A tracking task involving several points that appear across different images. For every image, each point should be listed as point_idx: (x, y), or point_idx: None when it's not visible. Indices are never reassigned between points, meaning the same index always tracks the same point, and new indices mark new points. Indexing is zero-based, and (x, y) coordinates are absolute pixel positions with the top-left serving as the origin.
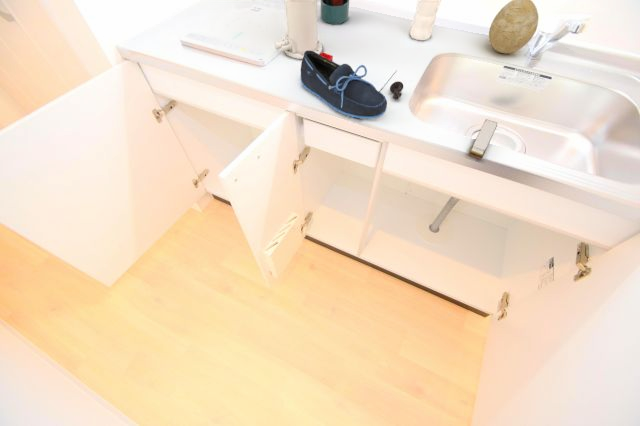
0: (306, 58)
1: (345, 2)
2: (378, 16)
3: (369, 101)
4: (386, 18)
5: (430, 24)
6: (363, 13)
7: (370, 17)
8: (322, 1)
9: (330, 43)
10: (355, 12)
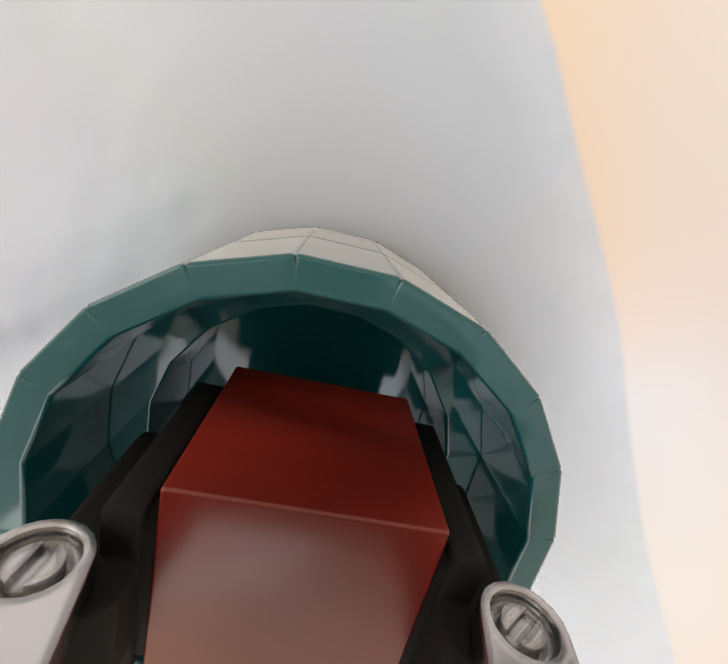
0: None
1: (490, 514)
2: (646, 593)
3: None
4: (649, 644)
5: None
6: (624, 483)
7: (587, 569)
8: (111, 344)
9: None
10: (596, 421)
